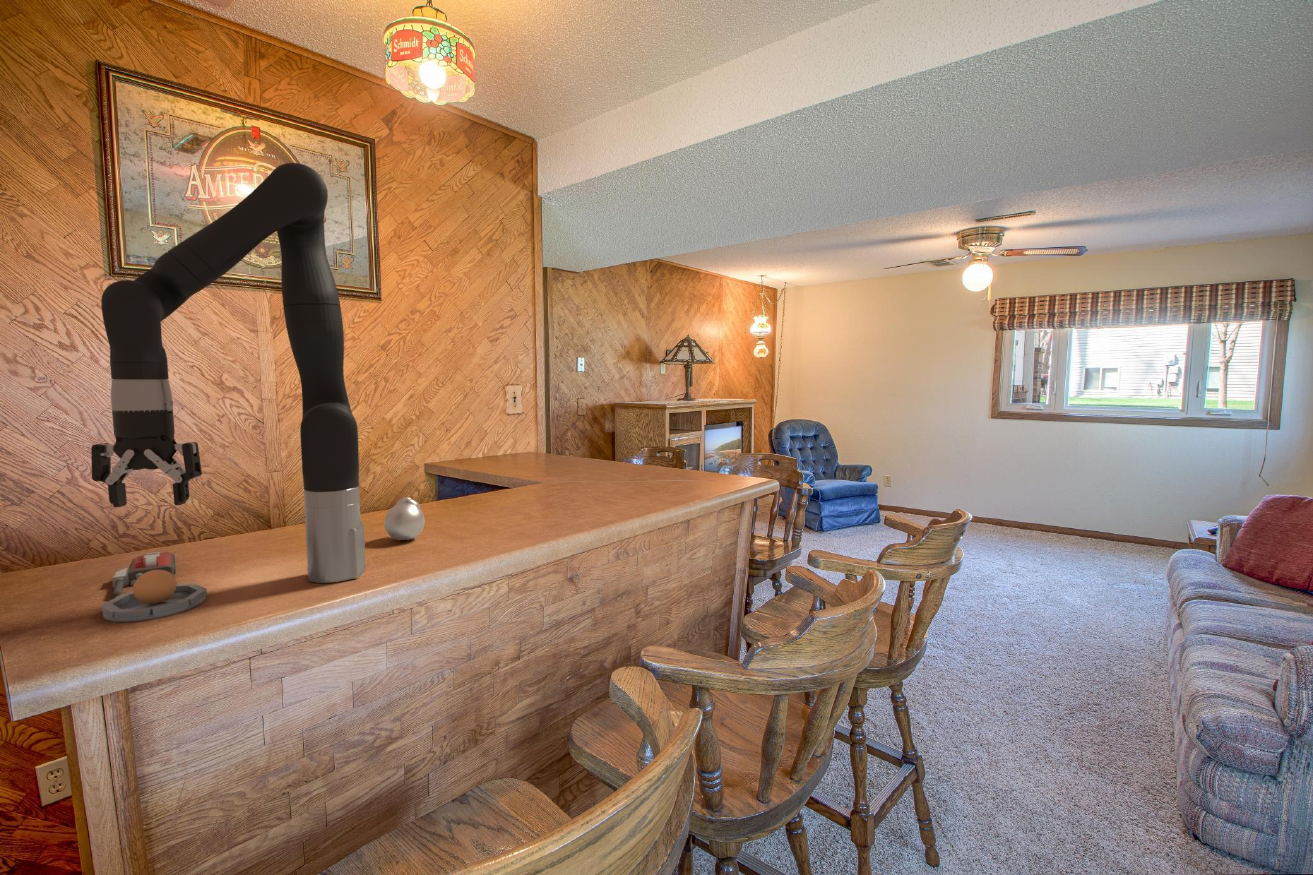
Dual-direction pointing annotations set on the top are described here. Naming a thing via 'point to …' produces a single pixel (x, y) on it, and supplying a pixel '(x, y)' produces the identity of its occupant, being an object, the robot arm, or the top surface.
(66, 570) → the top surface
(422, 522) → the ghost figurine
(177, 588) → the dish
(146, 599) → the ball
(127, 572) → the walkie-talkie
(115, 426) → the robot arm
